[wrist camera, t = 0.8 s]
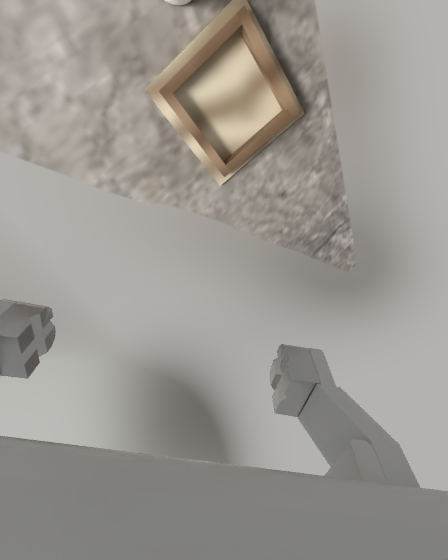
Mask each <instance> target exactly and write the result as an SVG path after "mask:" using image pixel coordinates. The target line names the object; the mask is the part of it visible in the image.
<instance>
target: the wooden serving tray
mask: <svg viewBox="0 0 448 560" xmlns="http://www.w3.org/2000/svg"><path fill="white" fill-rule="evenodd" d="M145 91H146V92H147V94H148V95H149V96H150V97H151V99H152V100H153V101H154V103H155V104H156V105H157V106H158V108H159V109H160V110H161V111H162V113H163V114H164V115H165V116H166V118H167V119H168V120H169V122H170V123H171V124H172V125H173V127H174V128H175V129H176V130H177V132H178V133H179V134H180V136H181V137H182V138H183V139H184V141H185V142H186V143H187V144H188V146H189V147H190V148H191V150H192V151H193V152H194V153H195V155H196V156H197V157H198V158H199V160H200V161H201V162H202V164H203V165H204V166H205V167H206V169H207V170H208V171H209V172H210V174H211V175H212V176H213V178H214V179H215V180H216V181H217V183H218V184H219V185H220V186H221V185H222V184H223V183H224V182H226V181H227V180H228V179H229V178H230V177H231V176H232V175H234V174H235V173H236V172H237V171H238V170H239V169H241V168H242V167H243V166H244V165H245V164H246V163H248V162H249V161H250V160H251V159H252V158H253V157H255V156H256V155H257V154H258V153H259V152H260V151H262V150H263V149H264V148H265V147H266V146H267V145H269V144H270V143H271V142H272V141H273V140H274V139H276V138H277V137H278V136H279V135H280V134H281V133H283V132H284V131H285V130H286V129H287V128H288V127H290V126H291V125H292V124H293V123H294V122H295V121H297V120H298V119H299V118H300V117H301V116H302V115H303V114H305V113H304V111H303V109H302V107H301V105H300V103H299V101H298V99H297V97H296V95H295V93H294V91H293V89H292V87H291V85H290V83H289V81H288V79H287V78H286V76H285V74H284V72H283V70H282V68H281V66H280V64H279V62H278V60H277V58H276V56H275V54H274V52H273V50H272V48H271V46H270V44H269V42H268V40H267V38H266V36H265V34H264V32H263V30H262V29H261V27H260V25H259V23H258V21H257V19H256V17H255V15H254V13H253V11H252V9H251V7H250V5H249V3H248V1H247V0H232V1H231V2H230V3H229V4H228V5H227V6H226V7H225V8H224V9H223V10H222V11H221V12H220V13H219V14H218V15H217V16H216V17H215V18H214V19H213V20H212V21H211V22H210V23H209V24H208V25H207V26H206V27H205V28H204V29H203V30H202V31H201V32H200V33H199V35H198V36H197V37H196V38H195V39H194V40H193V41H192V42H191V43H190V44H189V45H188V46H187V47H186V48H185V49H184V50H183V51H182V52H181V53H180V54H179V55H178V56H177V57H176V58H175V59H174V60H173V61H172V62H171V63H170V64H169V65H168V66H167V67H166V68H165V69H164V70H163V71H162V72H161V73H160V74H159V75H158V76H157V77H156V78H155V79H154V81H153V82H152V83H151V84H150V85H149V86H148V87H147V88H146V89H145Z"/></svg>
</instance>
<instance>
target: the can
mask: <svg viewBox="0 0 448 560" xmlns="http://www.w3.org/2000/svg"><path fill="white" fill-rule="evenodd" d="M165 1H166V2H168V3H170V4H173V5H184V4H187V3H189V2H190V1H192V0H165Z"/></svg>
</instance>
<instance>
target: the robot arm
mask: <svg viewBox="0 0 448 560" xmlns="http://www.w3.org/2000/svg"><path fill="white" fill-rule="evenodd" d="M52 317H53V313H52V309H51V308H49V307H46V306H41V305H35V304H30V303H24V302H17V301H12V300H6V299H2V300H0V375H1V376H11V377H19V378H28V377H29V376H30V375H31V373H32V372H33V371H34V370H35V368H36V367H37V366H38V364H39V363H40V362H39V356H41V355H43V354H45V353H47V352H48V350H49V349H50V348H51V346H52V344H53V341H54V339H55V326H54V325H53V324H52V323H51V321H50V319H51V318H52ZM277 354H278V358H276V359H275V360H273V363H272V366H271V371H270V383H271V386H272V388H273V389H274V390H275V391H274V393H273V396H272V398H273V405H274V412H275V413H277V414H283V415H289V416H295V417H298V419H299V421H300V422H301V424H302V425H303V427H304V428H305V430H306V431H307V433H308V434H309V435H310V437H311V438H312V440H313V441H314V443H315V444H316V446H317V447H318V449H319V450H320V452H321V453H322V455H323V456H324V457H325V459H326V460H327V462H328V464H329V465H330V466H331V468H330V469H329V471H328V472H327V473H326V475H325V476H319V475H312V474H304V473H296V472H287V471H280V470H272V469H264V468H256V467H248V466H240V465H231V464H223V463H215V462H207V461H199V460H191V459H182V458H174V457H167V456H158V455H151V454H142V453H134V452H126V451H118V450H110V449H101V448H94V447H86V446H78V445H69V444H62V443H53V442H45V441H37V440H29V439H21V438H13V437H5V436H0V560H448V491H441V490H433V489H425V488H420V486H419V484H418V482H417V480H416V478H415V476H414V474H413V472H412V470H411V468H410V465H409V463H408V461H407V459H406V457H405V455H404V453H403V451H402V449H401V447H400V445H399V444H398V443H397V442H396V441H395V440H394V439H393V438H392V437H391V436H390V435H389V434H388V433H387V432H386V431H385V430H384V429H383V428H382V427H381V426H380V425H379V424H378V423H377V422H375V421H374V420H373V419H372V418H371V417H370V416H369V415H368V414H367V413H366V412H365V411H364V410H363V409H362V408H361V407H360V406H359V405H358V404H357V403H356V402H355V401H354V400H353V399H351V397H350V396H348V394H347V393H345V392H344V391H343V390H342V389H341V388H340V387H336V385H335V383H334V380H333V377H332V375H331V372H330V369H329V366H328V364H327V361H326V358H325V356H324V353H323V351H322V350H318V349H312V348H304V347H297V346H290V345H284V344H281V345H280V346H279V348H278V350H277Z"/></svg>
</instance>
